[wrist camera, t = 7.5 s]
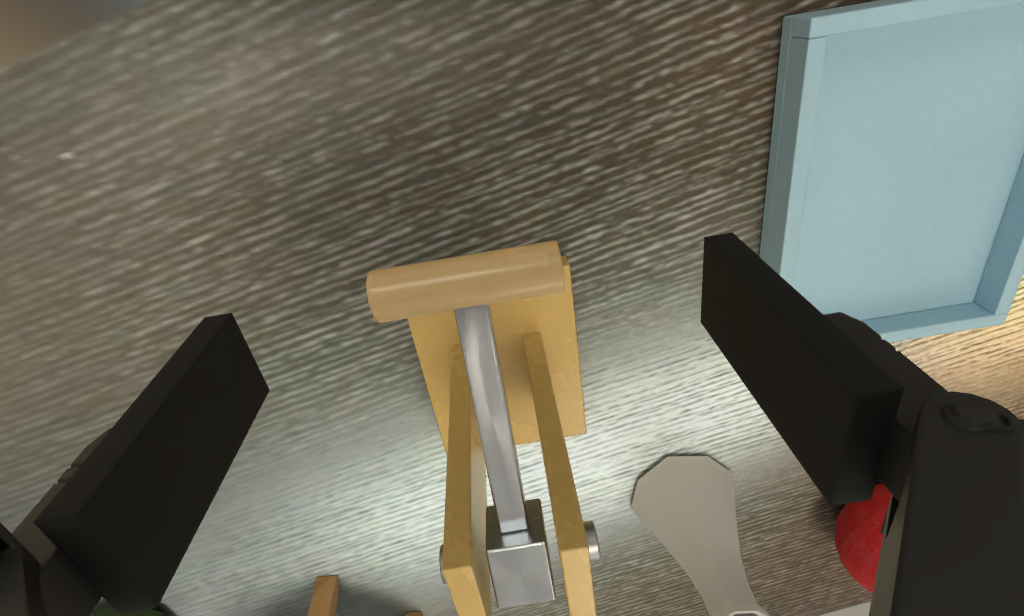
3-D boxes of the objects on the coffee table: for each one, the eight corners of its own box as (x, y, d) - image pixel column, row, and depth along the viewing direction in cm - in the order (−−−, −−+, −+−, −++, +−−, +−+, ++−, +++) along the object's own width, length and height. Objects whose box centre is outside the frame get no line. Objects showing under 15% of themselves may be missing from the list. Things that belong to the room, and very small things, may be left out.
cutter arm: (375, 262, 18) (358, 282, 15) (552, 233, 18) (562, 248, 15) (451, 567, 22) (448, 618, 20) (594, 544, 22) (606, 592, 20)
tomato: (790, 522, 42) (855, 625, 35) (873, 445, 38) (964, 544, 31) (868, 548, 44) (943, 650, 37) (953, 479, 40) (1054, 577, 33)
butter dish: (782, 16, 24) (811, 17, 22) (1086, -35, 23) (1144, -39, 21) (750, 340, 32) (768, 362, 30) (971, 304, 32) (1004, 324, 30)
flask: (661, 441, 36) (722, 578, 27) (748, 463, 38) (831, 599, 29) (613, 510, 39) (654, 653, 31) (696, 528, 41) (757, 668, 32)
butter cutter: (401, 281, 29) (349, 505, 16) (565, 254, 29) (645, 457, 16) (447, 442, 35) (436, 698, 22) (583, 420, 35) (651, 664, 22)
